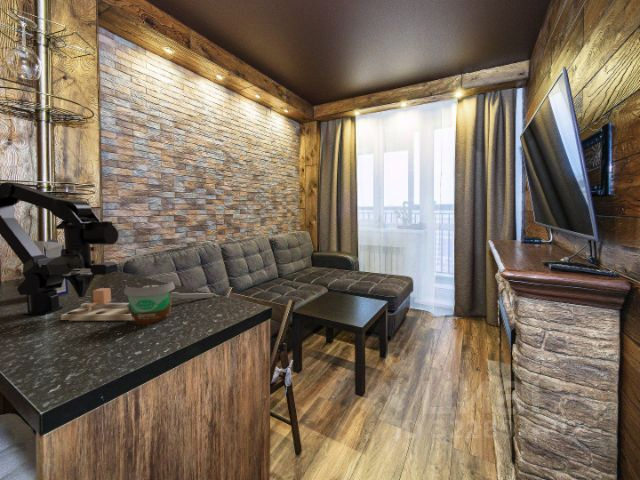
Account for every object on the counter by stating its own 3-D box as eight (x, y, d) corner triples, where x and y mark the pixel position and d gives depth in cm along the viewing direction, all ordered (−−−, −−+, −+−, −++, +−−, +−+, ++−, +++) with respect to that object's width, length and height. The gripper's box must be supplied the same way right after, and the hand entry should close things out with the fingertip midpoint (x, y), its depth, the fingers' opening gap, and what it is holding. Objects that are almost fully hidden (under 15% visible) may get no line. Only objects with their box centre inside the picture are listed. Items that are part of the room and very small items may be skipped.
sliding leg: (83, 311, 84) (82, 294, 83) (101, 303, 91) (100, 288, 90) (94, 311, 84) (93, 294, 83) (111, 303, 91) (110, 288, 90)
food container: (123, 329, 76) (120, 290, 75) (125, 321, 82) (123, 285, 81) (176, 321, 82) (175, 285, 81) (176, 314, 87) (174, 280, 86)
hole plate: (61, 320, 82) (59, 297, 82) (91, 307, 93) (89, 287, 93) (131, 320, 82) (130, 297, 82) (153, 307, 93) (151, 287, 93)
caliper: (155, 310, 91) (154, 290, 91) (154, 310, 92) (152, 289, 91) (217, 296, 106) (217, 279, 106) (216, 296, 107) (215, 278, 106)
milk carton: (33, 296, 105) (28, 239, 103) (55, 291, 111) (50, 238, 109) (47, 298, 103) (42, 240, 101) (68, 293, 109) (64, 238, 107)
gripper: (17, 247, 79) (23, 305, 81) (89, 248, 79) (93, 305, 81) (54, 243, 90) (58, 294, 92) (117, 243, 90) (120, 294, 92)
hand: (81, 297), depth 89 cm, fingers closed
